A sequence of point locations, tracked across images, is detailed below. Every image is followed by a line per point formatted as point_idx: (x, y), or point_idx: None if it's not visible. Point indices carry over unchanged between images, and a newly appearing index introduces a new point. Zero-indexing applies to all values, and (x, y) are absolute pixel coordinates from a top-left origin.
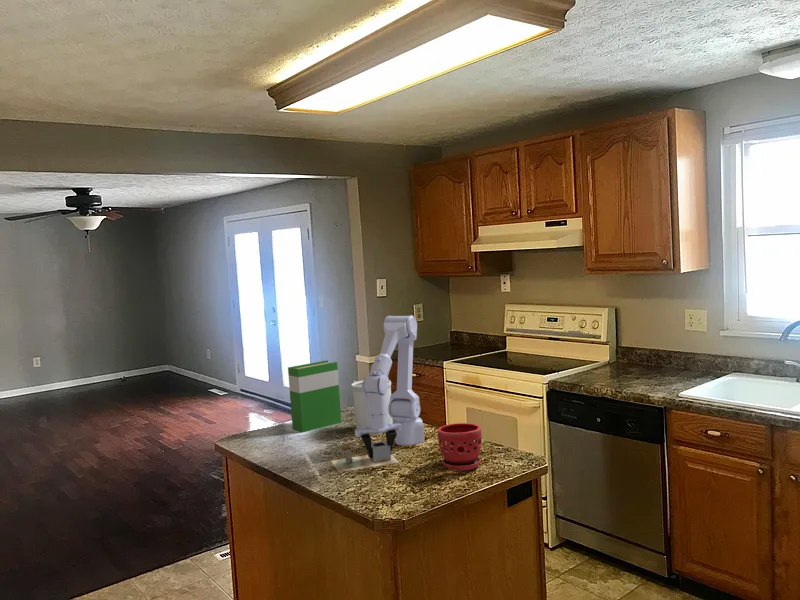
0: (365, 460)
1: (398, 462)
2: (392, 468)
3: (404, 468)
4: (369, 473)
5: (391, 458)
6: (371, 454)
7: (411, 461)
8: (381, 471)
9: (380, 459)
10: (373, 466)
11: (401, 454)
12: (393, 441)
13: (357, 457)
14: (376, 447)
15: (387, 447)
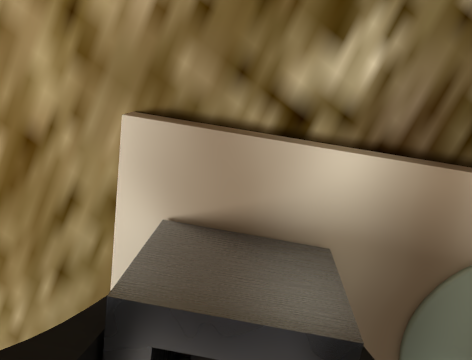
0: None
1: (131, 115)
2: (218, 79)
3: (124, 6)
4: (460, 83)
5: None
6: None
7: (7, 146)
8: (340, 65)
9: (263, 245)
10: (384, 159)
11: (25, 338)
12: (19, 345)
13: None
14: (304, 341)
15: (153, 292)
